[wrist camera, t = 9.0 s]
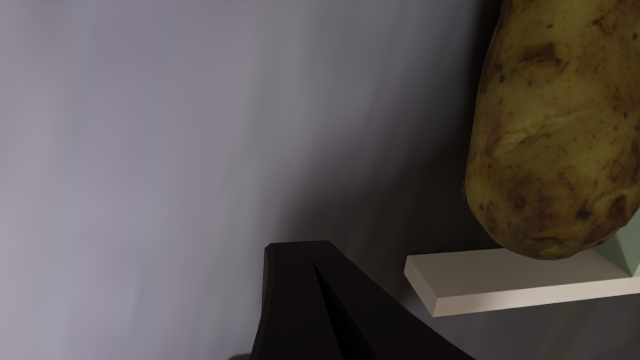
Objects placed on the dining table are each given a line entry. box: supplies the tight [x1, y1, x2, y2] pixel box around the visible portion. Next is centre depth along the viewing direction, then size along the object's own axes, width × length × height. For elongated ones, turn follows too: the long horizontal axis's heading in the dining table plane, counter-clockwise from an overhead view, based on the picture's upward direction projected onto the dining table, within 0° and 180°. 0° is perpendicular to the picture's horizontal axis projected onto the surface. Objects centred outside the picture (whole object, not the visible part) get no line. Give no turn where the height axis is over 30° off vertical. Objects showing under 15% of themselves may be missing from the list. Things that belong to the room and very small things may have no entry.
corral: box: [404, 207, 640, 317], centre depth 20 cm, size 19×13×4 cm
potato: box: [460, 0, 640, 261], centre depth 16 cm, size 8×13×8 cm, turn 150°
